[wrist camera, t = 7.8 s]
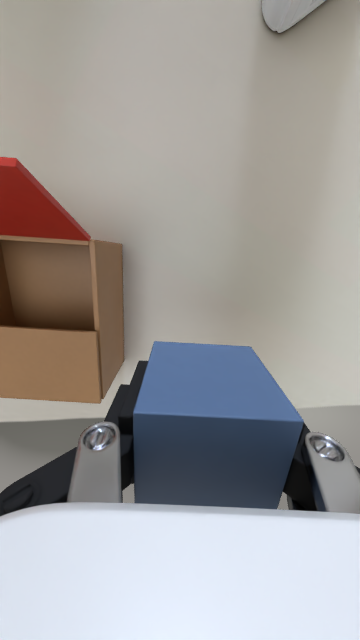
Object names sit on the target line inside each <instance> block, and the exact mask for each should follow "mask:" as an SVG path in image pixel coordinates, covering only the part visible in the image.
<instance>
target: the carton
mask: <svg viewBox="0 0 360 640" xmlns="http://www.w3.org/2000/svg"><path fill="white" fill-rule="evenodd" d="M123 362H124V320H123V264H122V244H119V243H112V242H106V241H99V240H90V241H81V240H67V239H52V238H37V237H23V236H8V235H0V398H17V399H33V400H49V401H66V402H82V403H99V404H100V403H101V399H104V397H105V395H106V393H107V391H108V389H109V388H110V386H111V384H112V382H113V380H114V378H115V377H116V375H117V373H118V371H119V369H120V367H121V365H122V364H123Z"/></svg>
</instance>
